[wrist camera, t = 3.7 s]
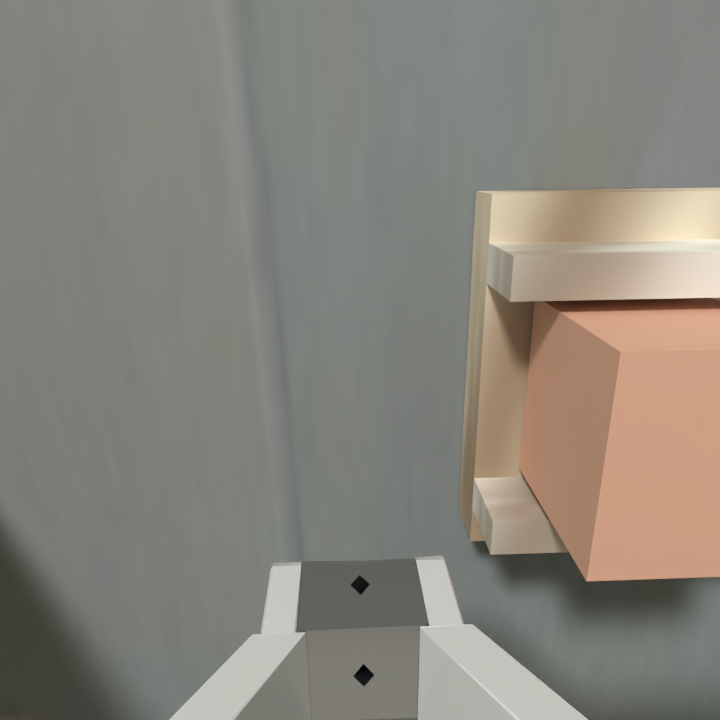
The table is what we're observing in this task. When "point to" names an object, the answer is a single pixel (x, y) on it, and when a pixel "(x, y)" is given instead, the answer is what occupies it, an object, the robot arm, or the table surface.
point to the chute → (559, 283)
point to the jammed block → (627, 434)
